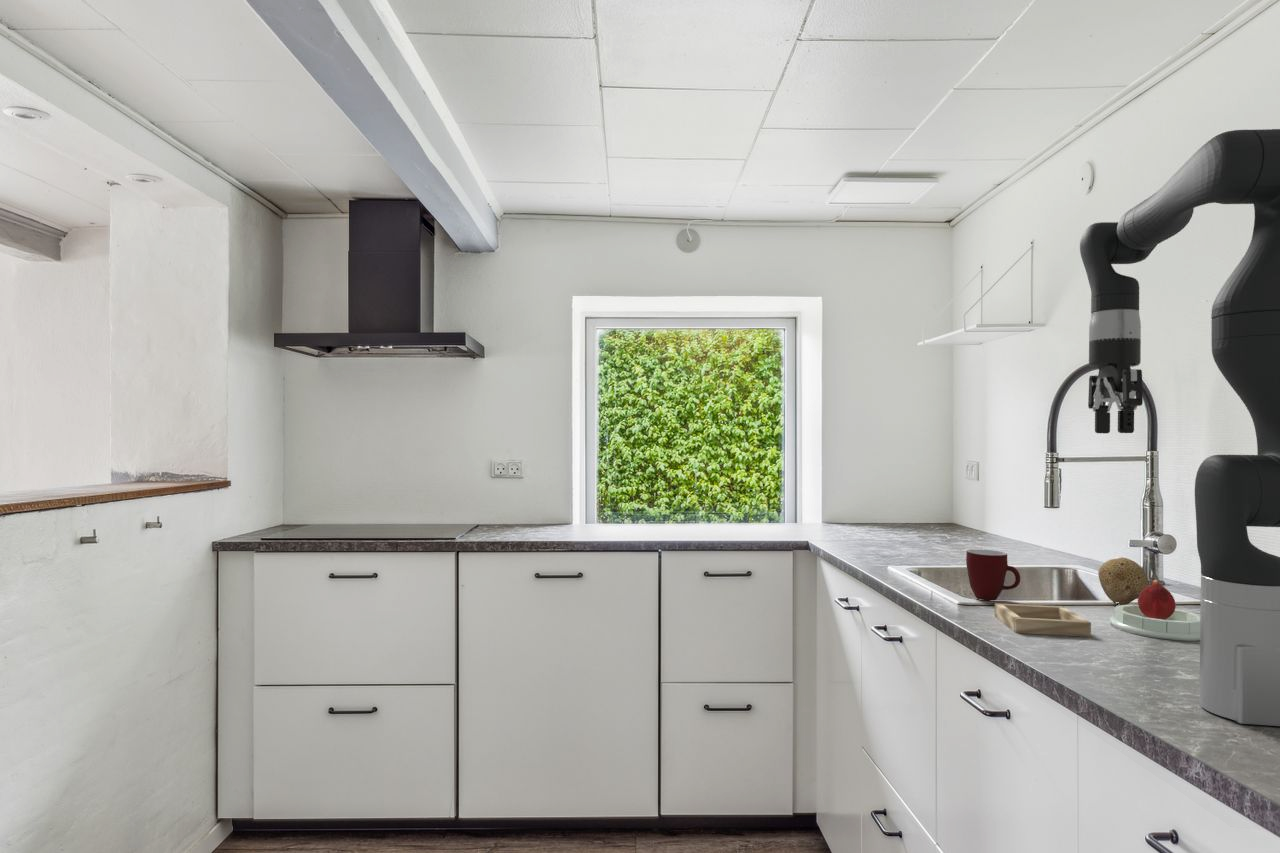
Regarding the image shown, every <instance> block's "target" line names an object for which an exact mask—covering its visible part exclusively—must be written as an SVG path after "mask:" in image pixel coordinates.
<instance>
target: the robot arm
mask: <svg viewBox="0 0 1280 853" xmlns="http://www.w3.org/2000/svg"><path fill="white" fill-rule="evenodd" d="M1215 203H1216V204H1220V205H1251V204H1252V205H1253V208H1254V222H1253V230H1252V236H1251V239H1250V244H1249V246H1248V248H1247V249H1246V252H1245V253H1244V255H1243V257H1242V258H1241V259H1240V261H1239V262H1238V264H1237V265H1236V267H1235V268H1234V269H1233V271H1232V272H1231V274H1230V275H1229V276H1228V277H1227V279H1226V280H1225V282H1224V284H1223V285H1222V287H1221V288H1220V289H1219V291H1218V293H1217V295H1216V296H1215V299H1214V301H1213V304H1212V307H1211V314H1210V315H1211V317H1210V318H1211V355H1212V357H1213V360H1214V363H1215V365H1216V366H1217V368H1218V370H1219V371H1220V373H1221V374H1222V377H1223V378H1224V379H1225V380H1226V381H1227V383H1228V385H1229V386H1231V388H1232V389H1233V391H1234V392H1235V393H1236V395H1237V396H1238V397H1239V398H1240V400H1241V401H1242V403H1243V404H1244V406H1245V408H1246V409H1247V411H1248V413H1249V415H1250V417H1251V419H1252V422H1253V427H1254V430H1255V436H1256V446H1257V447H1256V448H1257V454H1215V455H1214V454H1213V455H1210V456H1208V457H1206V458H1205V459H1204V460H1202V462H1201V463H1200V465H1199V467H1198V470H1197V471H1196V476H1195V480H1194V507H1195V508H1194V509H1195V510H1194V511H1195V524H1196V526H1195V527H1196V547H1197V553H1198V556H1199V560H1200V613H1199V614H1200V640H1199V705H1200V706H1201V707H1202V709H1204V710H1206V711H1208V712H1210V713H1212V714H1214V715H1217V716H1220V717H1223V718H1227V719H1230V720H1233V721H1234V722H1236V723H1239V724H1243V725H1255V726H1257V725H1258V726H1275V727H1280V556H1277V555H1275V554H1272V553H1268V552H1266V551H1263V550H1261V549H1260V548H1259V547H1257V546H1256V545H1253V543H1251V541H1250V538H1249V534H1248V527H1253V528H1255V527H1258V528H1260V527H1261V528H1280V128H1273V129H1270V128H1268V129H1267V128H1266V129H1235V130H1229V131H1225V132H1222V133H1220V134H1217V135H1216V136H1214V137H1212V138H1210V140H1208V141H1206V143H1205V144H1203V145H1202V146H1201V147H1200V148H1198V149H1197V150H1196V152H1194V154H1192V156H1191V157H1190V158H1189V159H1188V160H1187V161H1186V162H1184V164H1183V165H1182V166H1181V167H1180V168H1179V169H1178V170H1177V171H1176V172H1175V173H1174V174H1173V175H1172V176H1171V177H1170V178H1169V179H1168V180H1167V181H1166V183H1164V184H1163V186H1161V188H1159V189H1158V190H1157V191H1156V192H1155V193H1154V194H1152V195H1150V196H1148V198H1146V199H1144V200H1143V201H1141V202H1140V203H1138V204H1137V205H1135V206H1134V207H1132V208H1130V209H1128V210H1127V212H1125V213H1124V214H1123V215H1122V216H1121V217H1120V219H1119V220H1118V221H1115V222H1114V221H1113V222H1111V221H1110V222H1107V221H1105V222H1102V221H1101V222H1095V223H1092V224H1090V225H1088V227H1086V229H1085V230H1084V231H1083V233H1082V235H1081V238H1080V241H1079V253H1080V257H1081V260H1082V263H1083V266H1084V270H1085V273H1086V277H1087V281H1088V284H1089V287H1090V292H1091V293H1090V294H1091V295H1090V296H1091V298H1090V320H1089V326H1088V366H1090V367H1091V368H1097V369H1098V373H1097V375H1089V378H1088V402H1087V404H1088V406H1087V407H1088V409H1091V410H1092V411H1093V412H1094V432H1095V433H1096V434H1110V432H1111V408H1112V405H1113V404H1114V403H1115V404H1116V407H1117V409H1118V410H1117V432H1118V434H1119V433H1120V434H1132V433H1134V432H1135V411H1136V410H1137V407H1141V406H1142V405H1143V398H1144V397H1143V370H1142V369H1139V368H1138V369H1136V368H1135V369H1132V368H1133V367H1137V366H1139V365H1140V364H1141V362H1142V361H1141V358H1142V356H1141V354H1142V353H1141V351H1142V350H1141V348H1142V347H1141V346H1142V345H1141V343H1142V342H1141V341H1142V340H1141V339H1142V338H1141V337H1142V334H1141V333H1142V332H1141V331H1142V326H1141V318H1140V317H1141V316H1140V283H1139V281H1138V279H1136V278H1135V277H1132V276H1130V275H1124V274H1121V273H1119V272H1117V271H1116V270H1115V268H1114V266H1113V265H1131V264H1137V263H1141V262H1143V261H1144V260H1146V259H1147V258H1148V257H1149V256H1150V254H1151V253H1152V252H1153V251H1154V249H1155V248H1156V247H1157V246H1158V244H1159V245H1160V244H1161V243H1162V242H1165V241H1167V240H1168V239H1170V238H1172V237H1174V236H1175V235H1177V234H1179V232H1181V231H1182V230H1184V229H1185V227H1186V226H1188V224H1189V223H1190V221H1191V220H1192V218H1193V214H1194V209H1195V208H1197V207H1201V206H1204V205H1208V204H1215Z"/></svg>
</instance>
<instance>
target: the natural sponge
mask: <svg viewBox="0 0 1280 853" xmlns="http://www.w3.org/2000/svg"><path fill="white" fill-rule="evenodd" d="M1097 574H1098V579H1099V583H1100V586H1101V588H1102V590H1103V592H1104V594H1105V595H1106V596H1107V597H1108V599H1109V600H1110V601H1111V602H1113V603H1114V602H1119V603H1117V604H1120V605H1128V604H1131V603H1132V602H1133V601H1135V600H1138V597H1139V594H1140V593H1141V591H1142V590H1143V589H1145V588H1146V587H1148V586H1150V585H1151V583H1150V579H1149V577H1148V576H1147V574H1146V572H1145V570H1144V569H1143V567H1142V566H1141V565H1140V564H1138V562H1135V561H1134V560H1132V559H1130V558H1126V557H1118V558H1111V559H1108V560H1106V561H1105V562H1104V563H1103V564H1102V565H1101V566H1100V567H1099V568H1098V572H1097ZM1117 604H1116V605H1117Z"/></svg>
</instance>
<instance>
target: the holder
mask: <svg viewBox="0 0 1280 853" xmlns="http://www.w3.org/2000/svg"><path fill="white" fill-rule="evenodd" d="M994 618H997V619H998V620H999V621H1000V622H1002V623H1003V624H1004V625H1006V626H1007V627H1008V628H1009V629H1010V630H1012V631H1013V632H1014V633H1017V634H1031V635H1032V634H1033V635H1051V636H1052V635H1053V636H1054V635H1055V636H1071V637H1087V638H1088V637H1089V638H1090V637H1091V636H1092V622H1091V621H1089V620H1088V619H1085V618H1084V617H1082V616H1080V615H1079V614H1077V613H1075V612H1073V611H1071V610H1070V609H1069V608H1066V607H1065V606H1060V605H1059V606H1058V605H1043V604H1042V605H1041V604H1040V605H1038V604H1021V603H1020V604H1019V603H999V602H997V603H994Z"/></svg>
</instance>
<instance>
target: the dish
mask: <svg viewBox="0 0 1280 853" xmlns="http://www.w3.org/2000/svg"><path fill="white" fill-rule="evenodd" d="M1113 613H1114V614H1113V615H1111V616H1110V618H1109V624H1110V626H1111V627H1113V628H1115V629H1117V630H1119V629H1120V631H1122V632H1126V633H1129V634H1133V635H1138V636H1143V637H1148V638H1154V639H1159V640H1160V639H1162V640H1169V641H1181V642H1182V641H1185V642H1186V641H1187V642H1191V641H1192V642H1194V641H1195V642H1196V641H1200V615H1199V614H1196V613H1194V612H1192V611H1187V610H1182V609H1178V608H1175V611H1174V613H1173V614H1172V615H1171V616H1170V617H1169V618H1167V619H1165V620H1162V619H1155V618H1148V617H1146V616H1145V615H1144V614H1143V613H1142V612H1141V611H1140V609H1139V607H1138V604H1134V603H1133V604H1131V603H1129V604H1127V605H1116V606H1115V607H1114V609H1113Z"/></svg>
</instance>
